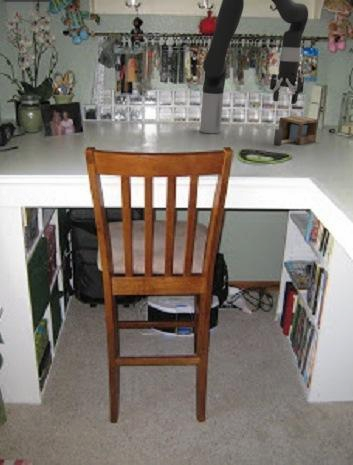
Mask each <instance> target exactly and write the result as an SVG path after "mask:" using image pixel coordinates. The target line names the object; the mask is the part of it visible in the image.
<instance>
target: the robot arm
mask: <svg viewBox="0 0 353 465" xmlns="http://www.w3.org/2000/svg"><path fill="white" fill-rule="evenodd" d="M221 1H222V2H221V4H220V8H219V11H218V14H217V18H216V22H215V26H214V31H213V35H212V36H213V37H212V39H211V43H210V45H209V49H208V51H207V54H206V55H205V59H204V60H203V63H202V69H203V72H204V80H203V84H202V98H201V99H202V100H201V111H200V112H201V114H200V128H199V129H200V130H199V131H200V133H203V134H219V133H221V132H222V118H223V105H224V104H223V103H224V92H225V90H224V89H225V84H226V76H227V75H226V72H227V61H226V58H227V53H228V50H229V46H230V44H231V41H232V40H233V37H234V36H235V33H236V31H237V29H238V27H239V23H240V21H241V18H242V15H243V11H244V5H245V3H244V2H245V0H221ZM271 2H272V3H273V4H274V6H276V9H277V11H278V14H279V16H280V18H281V19H282V20H283V21H284V22H286V23H288V24H290V25H289V28H288V30H286V31H285V32H284V33H283V36H282V43H281V44H282V45H281V48H280V55H279V62H278V63H279V65H278V74H277V73H274V74H271V77H270V83H269V84H270V85H269V90H272V91H273V94H272V95H273V96H272V100H273V101H274V102H278V101H279V98H280V97H279V95H280V90H281V88H285V87H286V88H289V90H291V92H292V94H291V100H290V101H291V102H290V103H291V105H295V104H296V103H297V102H298V96H299V94H302V93H304V81H305V76H298V72H299V66H300V60H301V59H300V58H301V45H302V38H303V35H304V32H305V28H306V27H307V24H308V19H309V9H308V6H306V4H304V3H298V2H294V0H271Z"/></svg>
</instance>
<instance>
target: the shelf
mask: <svg viewBox="0 0 353 465" xmlns="http://www.w3.org/2000/svg"><path fill="white" fill-rule="evenodd" d="M278 121H279V123H278V129H281V130H283V132H282V140H281V141H283V140H289V135H290V128H291V124H294V123H297V124H299V127H298V134H297V142H296V143H295V144H296V145H297V146H301V145H305V144H310V143H315V142H316V139H317V138H316V137H317V133H318V125H319V121H318V119H317V118H311V117H306V116H300V115H290V116H282V117H279V120H278ZM303 124H306V125H308V127H307V134H306V136H302V128H303Z"/></svg>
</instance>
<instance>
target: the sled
mask: <svg viewBox="0 0 353 465" xmlns="http://www.w3.org/2000/svg"><path fill="white" fill-rule="evenodd" d="M298 127H299V124H297V123H294V124H291V128H290V135H289V139H284V140H282V132H283V130H281V129H279V128H275V131H274V136H273V137H274V138H273V145H274V146H275V145H276V146H280V145H281V146H282V145H283V144H288V143H294V142H297V134H298ZM307 127H308V125H306V124H303V128H302V136H306V134H307Z"/></svg>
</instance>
